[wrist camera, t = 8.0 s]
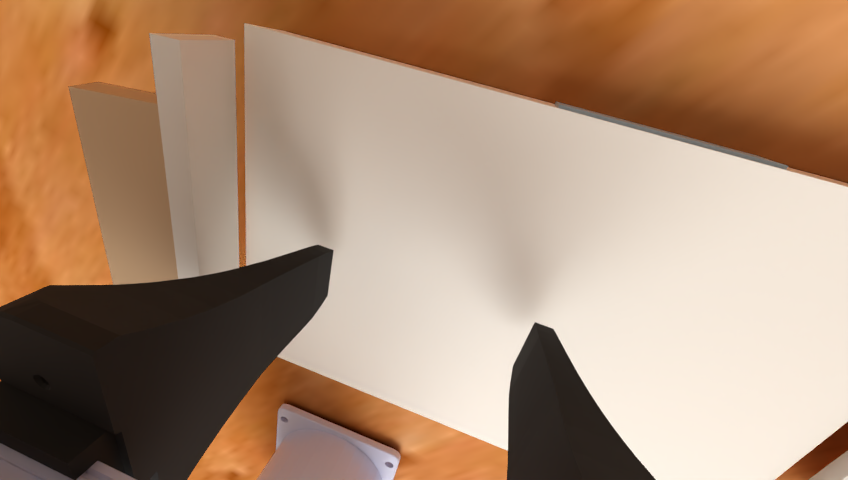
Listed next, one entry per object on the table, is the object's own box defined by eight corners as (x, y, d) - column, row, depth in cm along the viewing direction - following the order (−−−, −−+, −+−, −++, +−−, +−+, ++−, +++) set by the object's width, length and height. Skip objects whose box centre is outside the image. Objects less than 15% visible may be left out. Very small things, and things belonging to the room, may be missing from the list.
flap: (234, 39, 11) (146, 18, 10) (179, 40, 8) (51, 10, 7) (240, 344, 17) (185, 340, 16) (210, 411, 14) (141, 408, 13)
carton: (689, 483, 16) (708, 532, 15) (272, 319, 19) (246, 344, 18) (975, 213, 10) (1072, 243, 8) (282, 27, 13) (243, 19, 11)
